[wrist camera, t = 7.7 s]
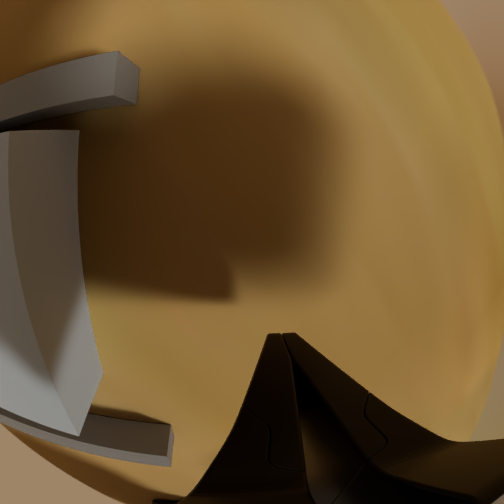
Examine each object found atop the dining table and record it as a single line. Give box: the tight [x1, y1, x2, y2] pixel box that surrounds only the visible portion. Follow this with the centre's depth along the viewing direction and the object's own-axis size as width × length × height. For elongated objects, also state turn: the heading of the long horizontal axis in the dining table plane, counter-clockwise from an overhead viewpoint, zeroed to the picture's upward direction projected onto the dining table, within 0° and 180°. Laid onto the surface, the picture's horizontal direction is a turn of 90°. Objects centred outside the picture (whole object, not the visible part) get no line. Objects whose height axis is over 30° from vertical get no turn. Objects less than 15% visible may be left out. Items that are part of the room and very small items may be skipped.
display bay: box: [0, 51, 174, 467], centre depth 8 cm, size 16×13×2 cm
